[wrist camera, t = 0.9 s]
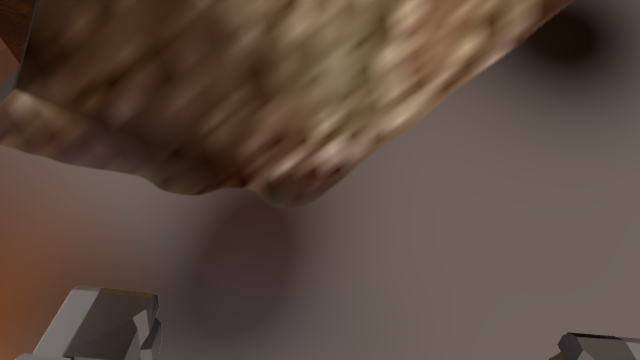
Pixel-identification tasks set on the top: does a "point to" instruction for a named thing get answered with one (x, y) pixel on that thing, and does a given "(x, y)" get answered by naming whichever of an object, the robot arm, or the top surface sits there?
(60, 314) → the robot arm
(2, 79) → the cabinet
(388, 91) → the top surface
